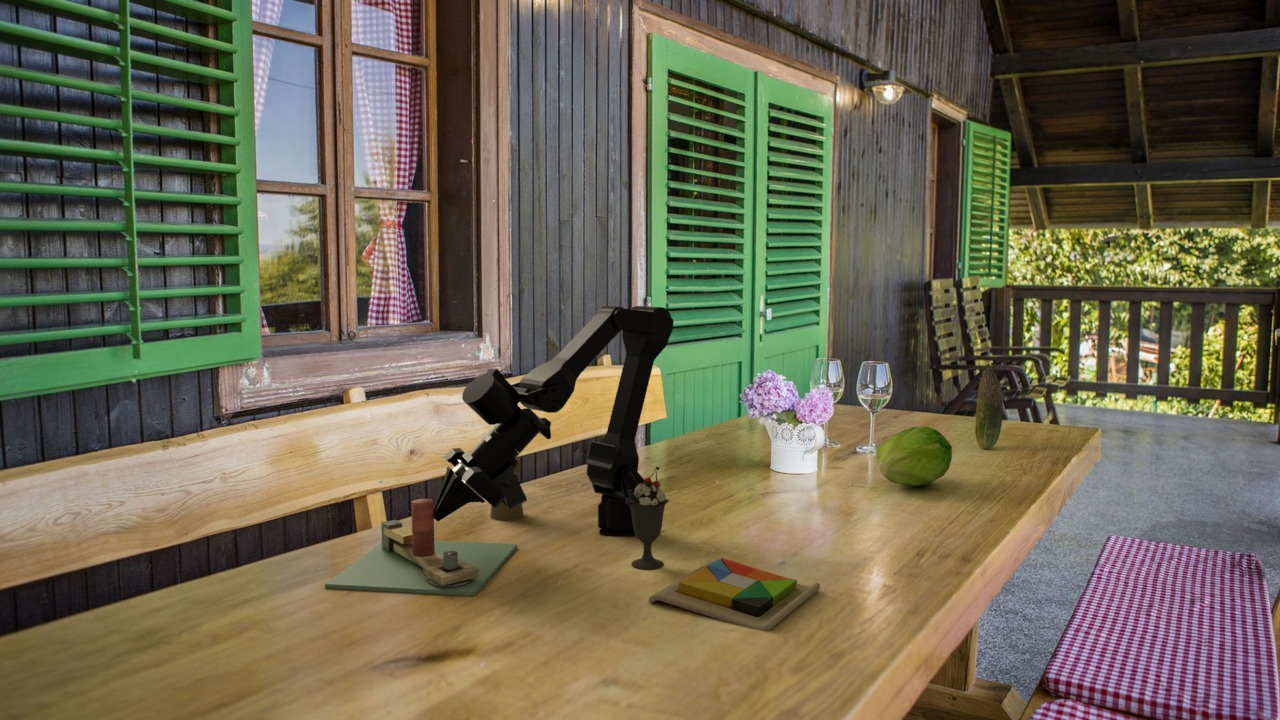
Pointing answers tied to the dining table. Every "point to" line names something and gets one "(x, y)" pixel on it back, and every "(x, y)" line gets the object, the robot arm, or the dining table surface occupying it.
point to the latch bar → (430, 548)
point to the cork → (502, 510)
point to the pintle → (450, 570)
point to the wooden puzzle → (737, 594)
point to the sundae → (647, 518)
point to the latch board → (420, 569)
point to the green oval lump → (914, 456)
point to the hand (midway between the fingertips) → (434, 518)
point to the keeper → (394, 535)
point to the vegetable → (988, 410)
